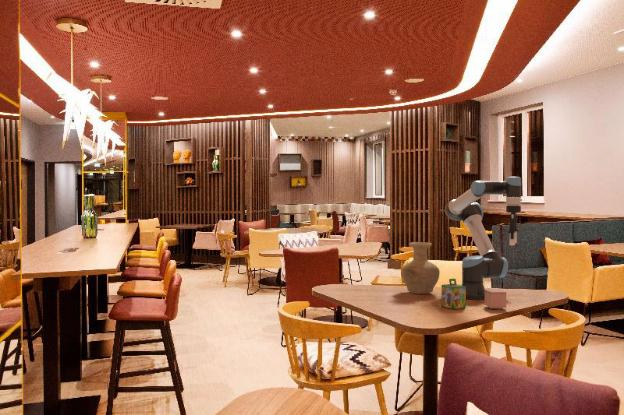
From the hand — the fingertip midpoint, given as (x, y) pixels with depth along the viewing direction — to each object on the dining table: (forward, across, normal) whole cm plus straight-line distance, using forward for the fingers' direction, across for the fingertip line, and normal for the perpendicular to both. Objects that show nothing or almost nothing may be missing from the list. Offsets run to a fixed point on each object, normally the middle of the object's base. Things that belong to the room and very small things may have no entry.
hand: (513, 244), depth 289 cm
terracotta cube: (+31, -20, +7) cm, 37 cm away
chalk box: (+32, -27, +27) cm, 50 cm away
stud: (+32, -20, +7) cm, 38 cm away
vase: (+32, +5, +52) cm, 61 cm away
